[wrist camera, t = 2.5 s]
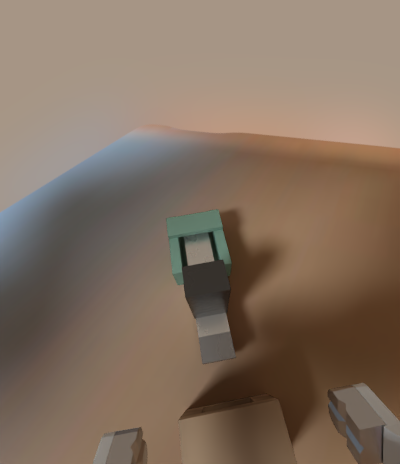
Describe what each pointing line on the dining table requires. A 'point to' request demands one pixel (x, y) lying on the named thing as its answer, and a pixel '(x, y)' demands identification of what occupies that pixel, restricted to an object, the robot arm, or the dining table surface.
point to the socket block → (236, 433)
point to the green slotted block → (192, 226)
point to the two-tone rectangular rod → (208, 298)
